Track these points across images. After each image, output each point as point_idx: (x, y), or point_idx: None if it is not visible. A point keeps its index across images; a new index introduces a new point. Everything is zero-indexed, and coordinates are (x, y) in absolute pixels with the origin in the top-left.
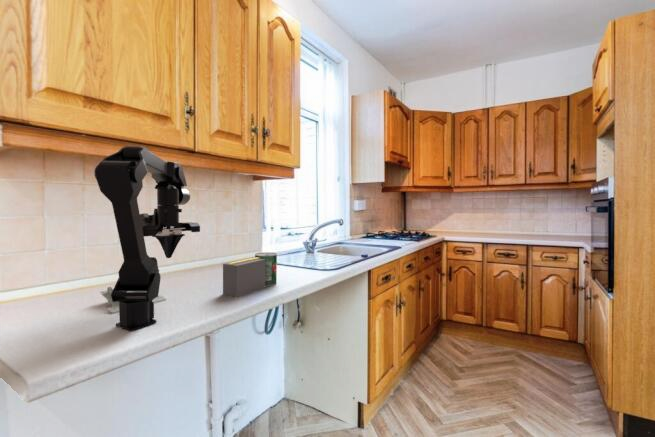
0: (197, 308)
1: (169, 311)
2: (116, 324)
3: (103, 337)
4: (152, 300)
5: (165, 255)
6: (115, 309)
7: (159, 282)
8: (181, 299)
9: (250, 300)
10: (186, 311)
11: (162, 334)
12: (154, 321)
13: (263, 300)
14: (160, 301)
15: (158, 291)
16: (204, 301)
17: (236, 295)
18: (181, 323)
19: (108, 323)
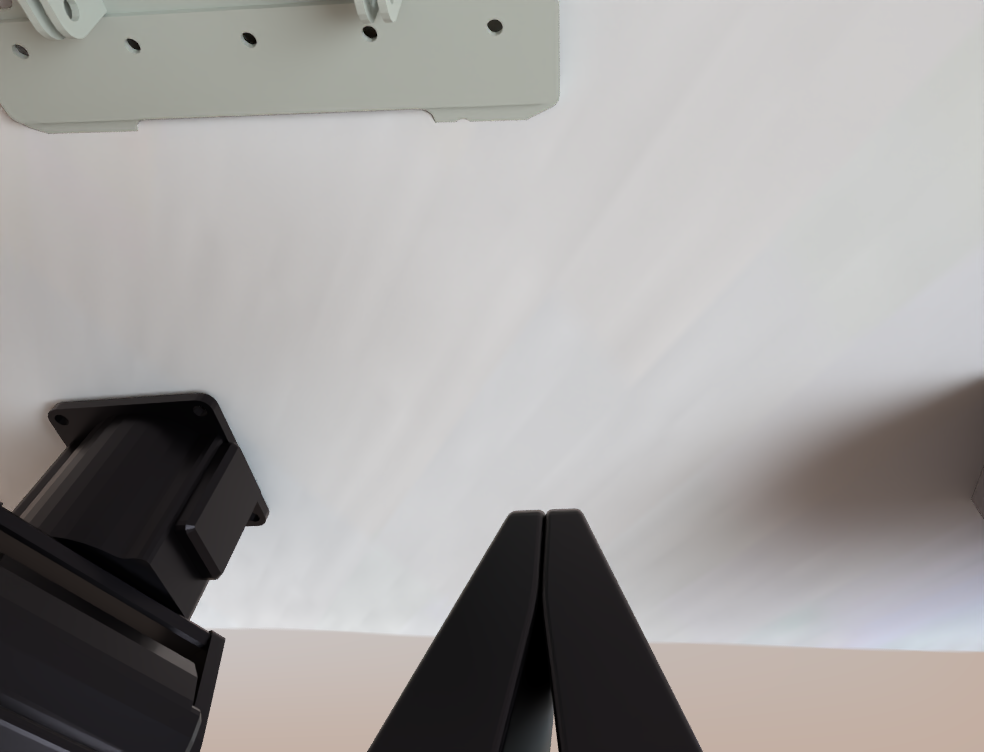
0: (578, 489)
1: (412, 408)
2: (53, 424)
3: (5, 488)
4: (411, 69)
5: (489, 549)
6: (36, 83)
7: (199, 729)
8: (670, 205)
9: (915, 604)
10: (492, 483)
11: (250, 621)
12: (251, 524)
13: (948, 650)
14: (487, 107)
15: (216, 666)
16: (734, 409)
17: (977, 506)
18: (369, 591)
19: (12, 323)
